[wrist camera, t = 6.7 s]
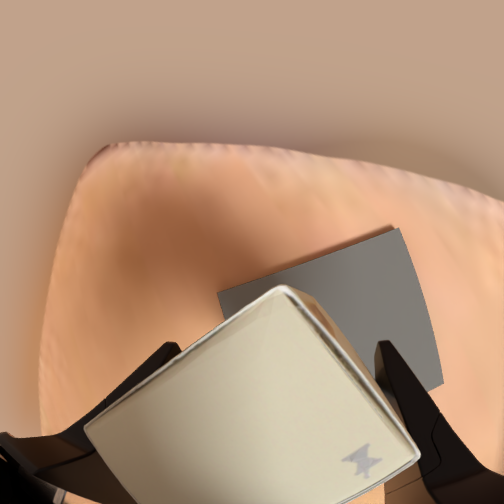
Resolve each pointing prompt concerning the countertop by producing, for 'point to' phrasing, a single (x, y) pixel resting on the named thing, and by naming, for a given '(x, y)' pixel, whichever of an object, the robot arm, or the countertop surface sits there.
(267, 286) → the charcoal mat
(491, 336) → the countertop surface
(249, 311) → the skincare box
